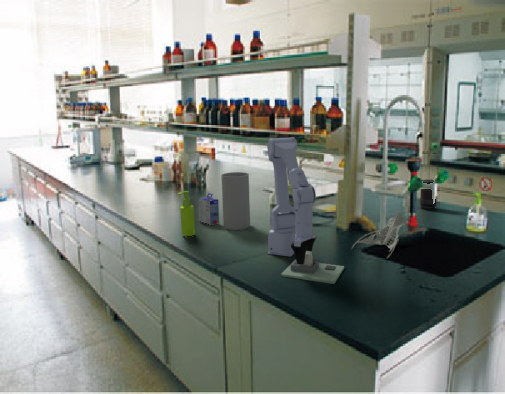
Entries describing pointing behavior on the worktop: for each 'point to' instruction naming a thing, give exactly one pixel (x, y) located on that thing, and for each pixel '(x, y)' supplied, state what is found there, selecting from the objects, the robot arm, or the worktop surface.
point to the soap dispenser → (187, 215)
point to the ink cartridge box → (208, 210)
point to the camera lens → (427, 197)
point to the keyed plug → (308, 259)
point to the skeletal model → (388, 230)
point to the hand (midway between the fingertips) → (304, 260)
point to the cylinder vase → (235, 200)
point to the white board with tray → (314, 272)
